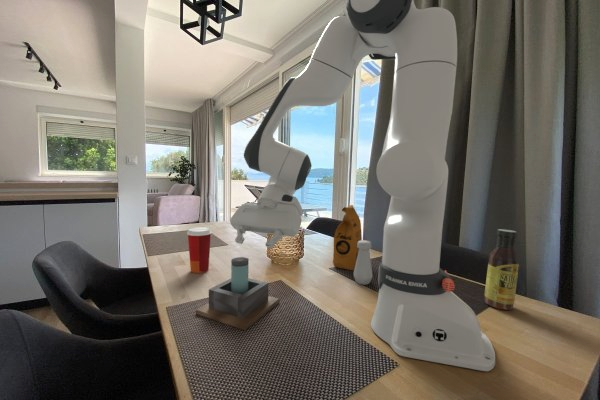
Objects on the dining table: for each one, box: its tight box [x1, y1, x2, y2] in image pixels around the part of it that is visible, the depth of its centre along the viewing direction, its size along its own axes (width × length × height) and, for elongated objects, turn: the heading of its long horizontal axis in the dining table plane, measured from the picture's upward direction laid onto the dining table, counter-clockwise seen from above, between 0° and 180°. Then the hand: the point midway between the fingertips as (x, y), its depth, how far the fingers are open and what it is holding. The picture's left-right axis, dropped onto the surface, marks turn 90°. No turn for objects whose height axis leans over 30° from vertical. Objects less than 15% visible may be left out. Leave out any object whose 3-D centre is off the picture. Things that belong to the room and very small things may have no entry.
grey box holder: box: [195, 277, 280, 331], centre depth 64 cm, size 14×14×6 cm
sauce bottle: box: [484, 228, 520, 311], centre depth 68 cm, size 7×6×20 cm
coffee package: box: [332, 204, 363, 271], centre depth 98 cm, size 10×12×22 cm
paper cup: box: [186, 227, 213, 274], centre depth 88 cm, size 8×8×14 cm
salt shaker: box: [353, 239, 373, 286], centre depth 82 cm, size 6×6×13 cm
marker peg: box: [230, 256, 250, 295], centre depth 64 cm, size 4×4×11 cm
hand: (253, 244), depth 68 cm, fingers open, 8 cm apart
